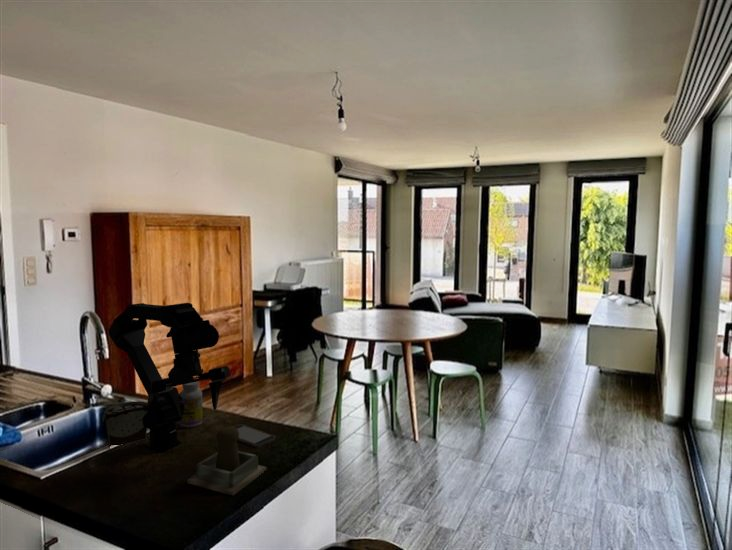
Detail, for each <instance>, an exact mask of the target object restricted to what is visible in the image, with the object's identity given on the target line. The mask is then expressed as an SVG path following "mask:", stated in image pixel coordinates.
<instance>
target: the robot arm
mask: <svg viewBox="0 0 732 550" xmlns="http://www.w3.org/2000/svg"><path fill="white" fill-rule="evenodd" d="M147 320H149V321H154V322H155V321H157V322H160V324H161V325H162V326H164V327H166V328H170V329H169V331H168V332H167V333H166V336H165V337H166V338H171V344H172V348H173V354H174V358H173V360H172V361H173V366H172V368H171V369H170V370H169V372H168V373H167V377H165V378H164V377H163V378H162V376H161V374H160V371H159V370H158V368H157V365H156V364H155V362H154V361H153V358H152V356H151V355H150V352H149V350H148V349H147V347H146V344H145V339H146V332H145V330H146V328H147V326H148V321H147ZM108 336H109V338H110V340H112V341H111V342H113V344H114V345H115V346H116V348H118V349H120V350H121V351H123V352H125V353H126V354H127V356H128V358H129V360H130V363H131V364H132V366H133V368H134V371H135V372H136V374H137V376H138V378H139V381H140V382H141V384H142V386H143V388H144V389H145V392H146V395H147V402H146V403H147V409H148V412H147V413H146V414H145V416H144V417H143V418H142V421H143V426H144V427H146V428H147V429H149V443H148V444H146V445H145V446H144V448H145V449H149V450H151V451H156V452H161V453H164V452H166V451H168V450H171V449H172V448H174V447H176V446H178V445H180V444H181V441H180V440H178V437H177V436H178V431H177V422H179V421H181V419H182V415H183V411H184V403H183V401H182V399H183V398H182V397H181V396H180V392H179V390H178V387H177V386H181V385H183V384H188V383H192V382H197V381H198V382H200V381H206V380H207V381H208V380H210V381H211V382H209V383H208V386H209V388H210V395H211V403H212V409H213V410H214V411H215V410H217V408H218V402H219V397H220V392H221V389H222V385H223V383H224V382H225V381H227V378H229V377H231V376H232V375H231V369H230V367H229V366H228V365H222V366H218V367H213V368H210V369H208V371H207V372H204V369H203V368H202V365H201V359H200V357H201V353H200V352H199V350H204V349H209V348H213V347H215V346H216V345H217V344H218V342H219V339H220V334H219V331H218V329H217V328H216V327H215V326H214V325H212V324H210V320H209V319H205V320H204V318H202V317H201V315H200V313H199V312H198V311H197V310H196V308H195V307H194V306H193V304H192V303H190V302H183V303H174V304H166V305H162V304H161V305H159V304H149V303H144V302H142V303H133V304H132V303H131V304H129V305H127V306H126V307H125V309H124V311H122V312H121V313H120V314H119V315H118V316H117V317H116V318H114V319H113V321H112V323H111V325H110V327H109V328H108Z"/></svg>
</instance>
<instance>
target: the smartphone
mask: <svg viewBox="0 0 732 550" xmlns="http://www.w3.org/2000/svg"><path fill="white" fill-rule="evenodd" d="M233 427H235V428H236V429H237V430H238V432H239V438H238V441H237V442H241V443H243V444H245V443H246V444H245V445H247V446H250V445H251V447H253V446H254V447H253V448H260V447H262V445H263V446H265V445H267V444H268V443H271V442H273V441H275V440H276V436H275V435H273V434H270V433H267V432H265V431H261V430H259V429H256V428H253V427H251V426H248V425H245V424H241V423H240V424H237V425H234V426H233ZM266 443H267V444H266ZM264 444H265V445H264Z"/></svg>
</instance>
